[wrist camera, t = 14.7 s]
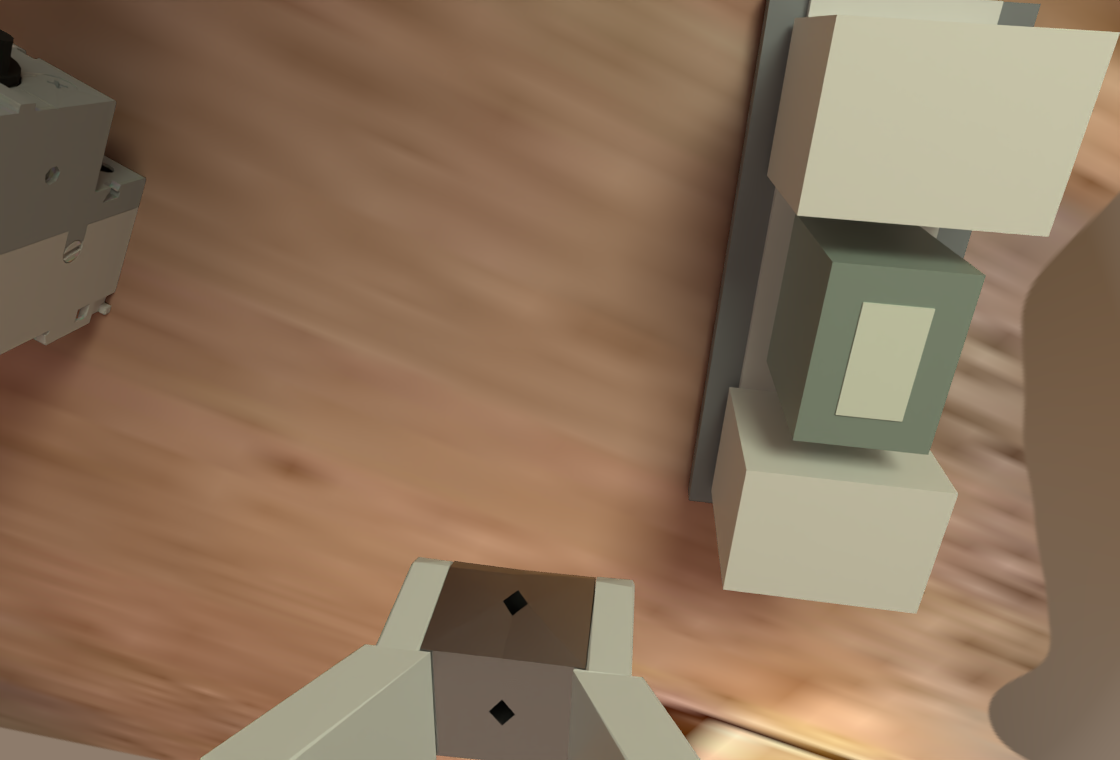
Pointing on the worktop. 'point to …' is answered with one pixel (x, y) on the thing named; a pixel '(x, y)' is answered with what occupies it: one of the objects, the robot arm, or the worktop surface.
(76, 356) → the worktop surface
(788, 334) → the block
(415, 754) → the robot arm
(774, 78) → the rail base
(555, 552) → the worktop surface
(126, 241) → the circuit breaker
